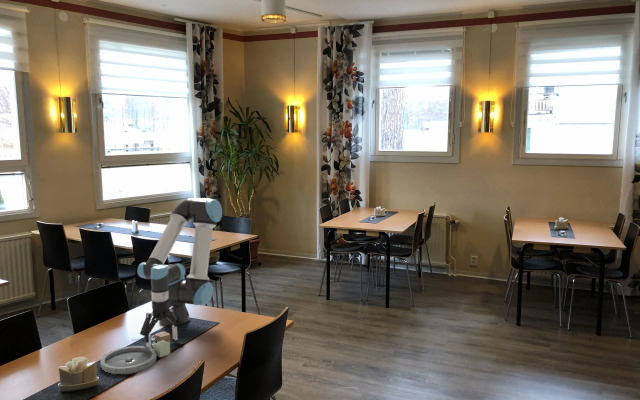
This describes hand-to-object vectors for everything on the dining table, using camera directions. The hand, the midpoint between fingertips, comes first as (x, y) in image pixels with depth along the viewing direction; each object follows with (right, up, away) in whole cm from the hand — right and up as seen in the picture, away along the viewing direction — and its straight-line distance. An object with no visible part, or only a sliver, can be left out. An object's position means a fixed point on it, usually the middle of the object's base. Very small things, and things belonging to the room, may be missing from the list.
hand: (162, 344), depth 240 cm
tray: (-8, -3, -19) cm, 21 cm away
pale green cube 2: (+3, -2, -10) cm, 11 cm away
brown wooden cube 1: (0, 0, 0) cm, 0 cm away
